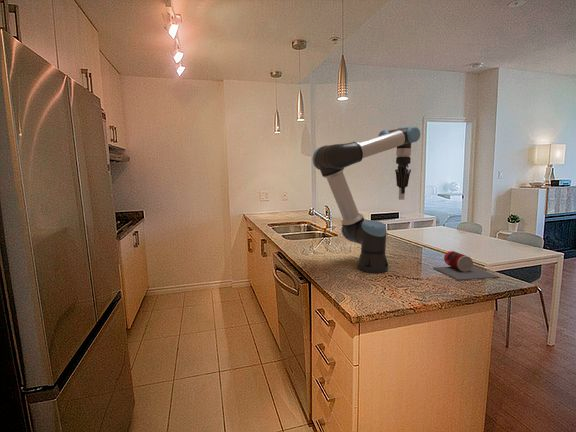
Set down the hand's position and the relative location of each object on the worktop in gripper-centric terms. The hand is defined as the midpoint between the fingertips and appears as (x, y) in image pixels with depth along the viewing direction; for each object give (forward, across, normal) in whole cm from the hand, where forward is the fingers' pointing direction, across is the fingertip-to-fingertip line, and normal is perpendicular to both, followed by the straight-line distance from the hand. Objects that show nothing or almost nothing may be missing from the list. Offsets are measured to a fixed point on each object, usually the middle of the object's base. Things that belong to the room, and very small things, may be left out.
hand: (401, 199), depth 179 cm
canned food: (+28, -24, -15) cm, 40 cm away
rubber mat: (+32, -34, -15) cm, 50 cm away
